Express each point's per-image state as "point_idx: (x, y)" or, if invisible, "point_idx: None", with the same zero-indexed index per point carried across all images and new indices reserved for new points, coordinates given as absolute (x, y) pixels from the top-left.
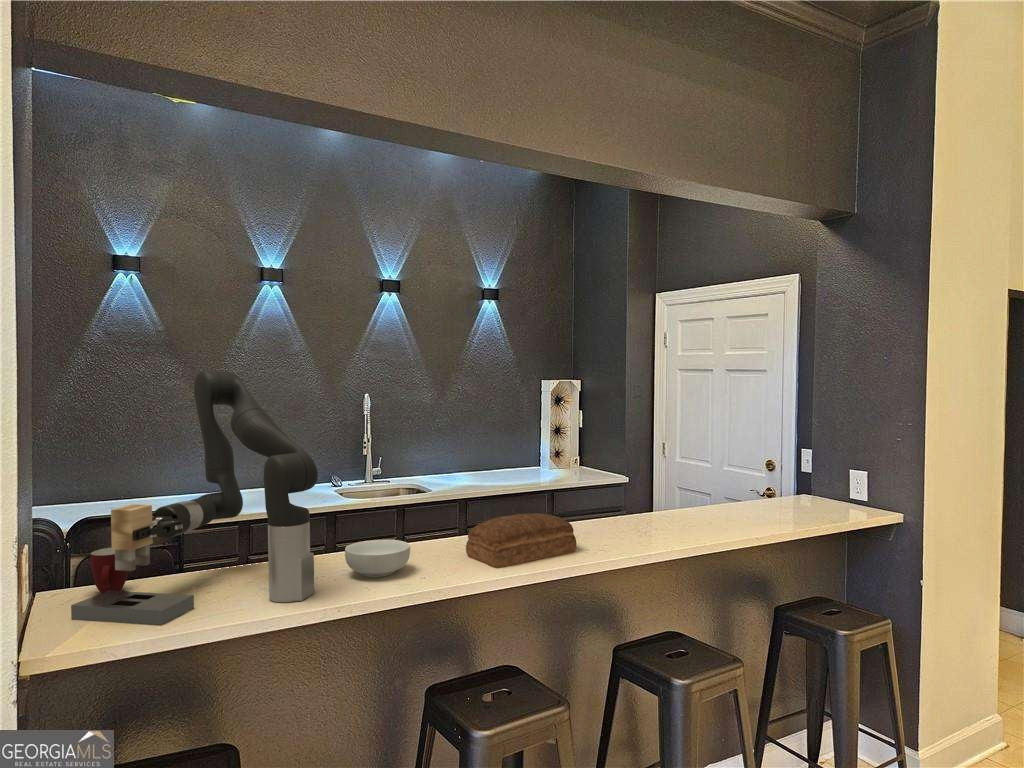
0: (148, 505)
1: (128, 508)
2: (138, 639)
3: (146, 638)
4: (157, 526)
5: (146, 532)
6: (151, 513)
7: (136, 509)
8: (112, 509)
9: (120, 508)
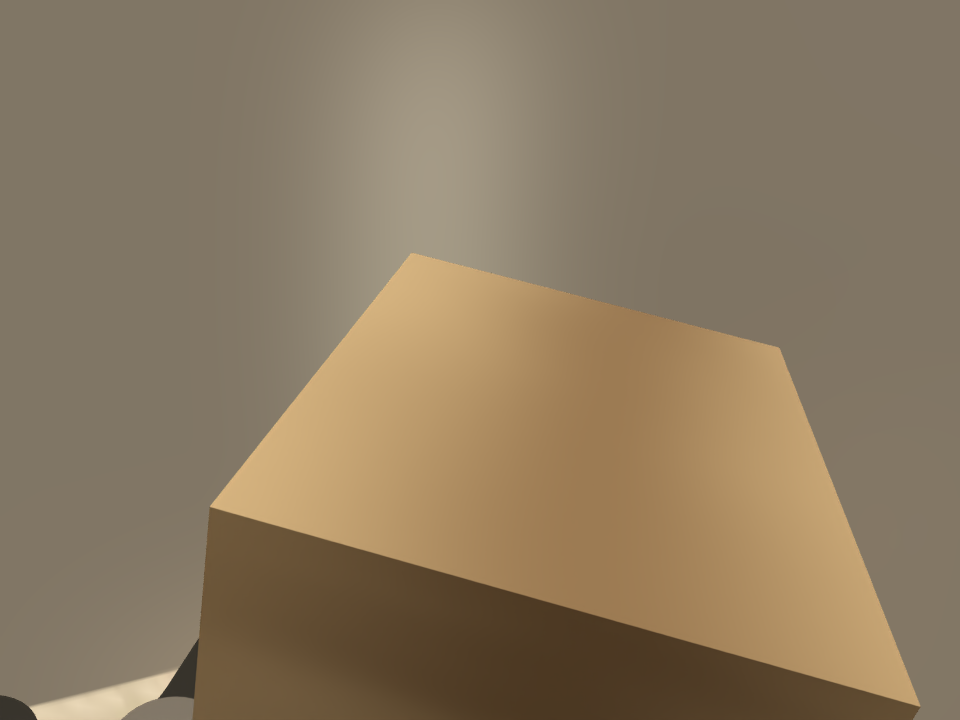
0: (289, 474)
1: (568, 352)
2: (113, 706)
3: (70, 712)
4: (28, 711)
5: None
6: (205, 679)
7: (380, 297)
8: (781, 359)
9: (720, 382)
